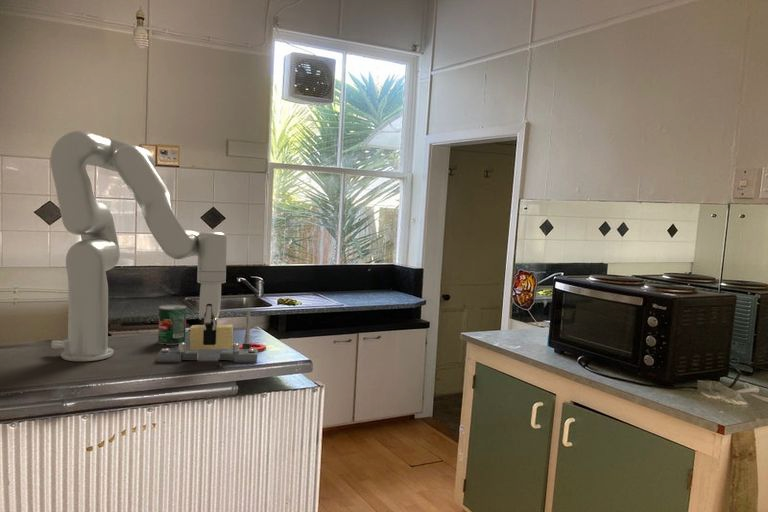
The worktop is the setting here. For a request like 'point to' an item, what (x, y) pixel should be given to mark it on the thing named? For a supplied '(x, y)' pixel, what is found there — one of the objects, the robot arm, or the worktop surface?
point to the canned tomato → (172, 324)
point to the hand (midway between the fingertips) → (210, 341)
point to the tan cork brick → (222, 337)
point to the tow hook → (247, 337)
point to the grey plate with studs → (182, 354)
